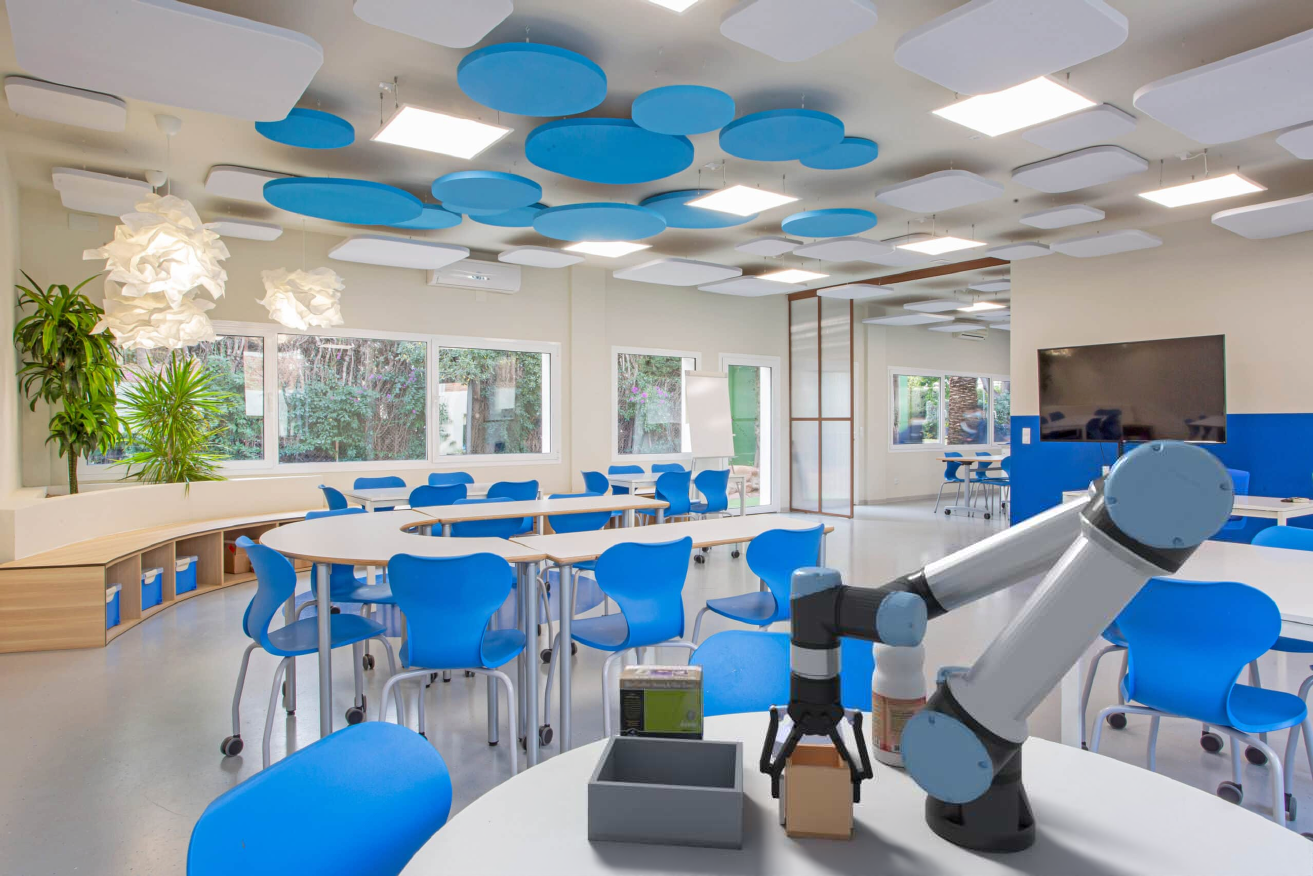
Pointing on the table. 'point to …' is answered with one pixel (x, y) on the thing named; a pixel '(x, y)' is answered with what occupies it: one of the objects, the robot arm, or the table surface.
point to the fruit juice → (895, 697)
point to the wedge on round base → (813, 739)
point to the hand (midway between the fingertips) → (815, 821)
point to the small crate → (817, 793)
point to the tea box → (662, 701)
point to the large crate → (668, 792)
